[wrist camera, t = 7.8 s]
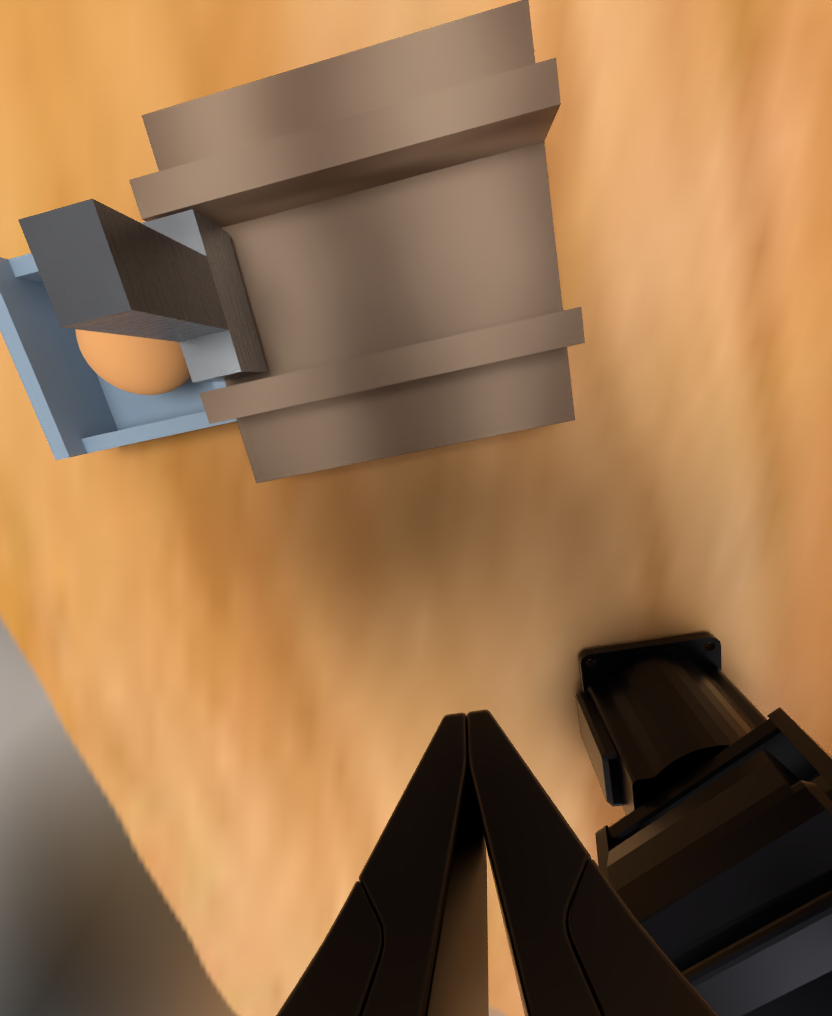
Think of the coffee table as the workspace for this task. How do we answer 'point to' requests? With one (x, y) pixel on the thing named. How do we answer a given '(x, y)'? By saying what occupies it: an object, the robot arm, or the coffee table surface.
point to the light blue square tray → (81, 378)
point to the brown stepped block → (384, 243)
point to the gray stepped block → (149, 283)
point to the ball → (134, 361)
